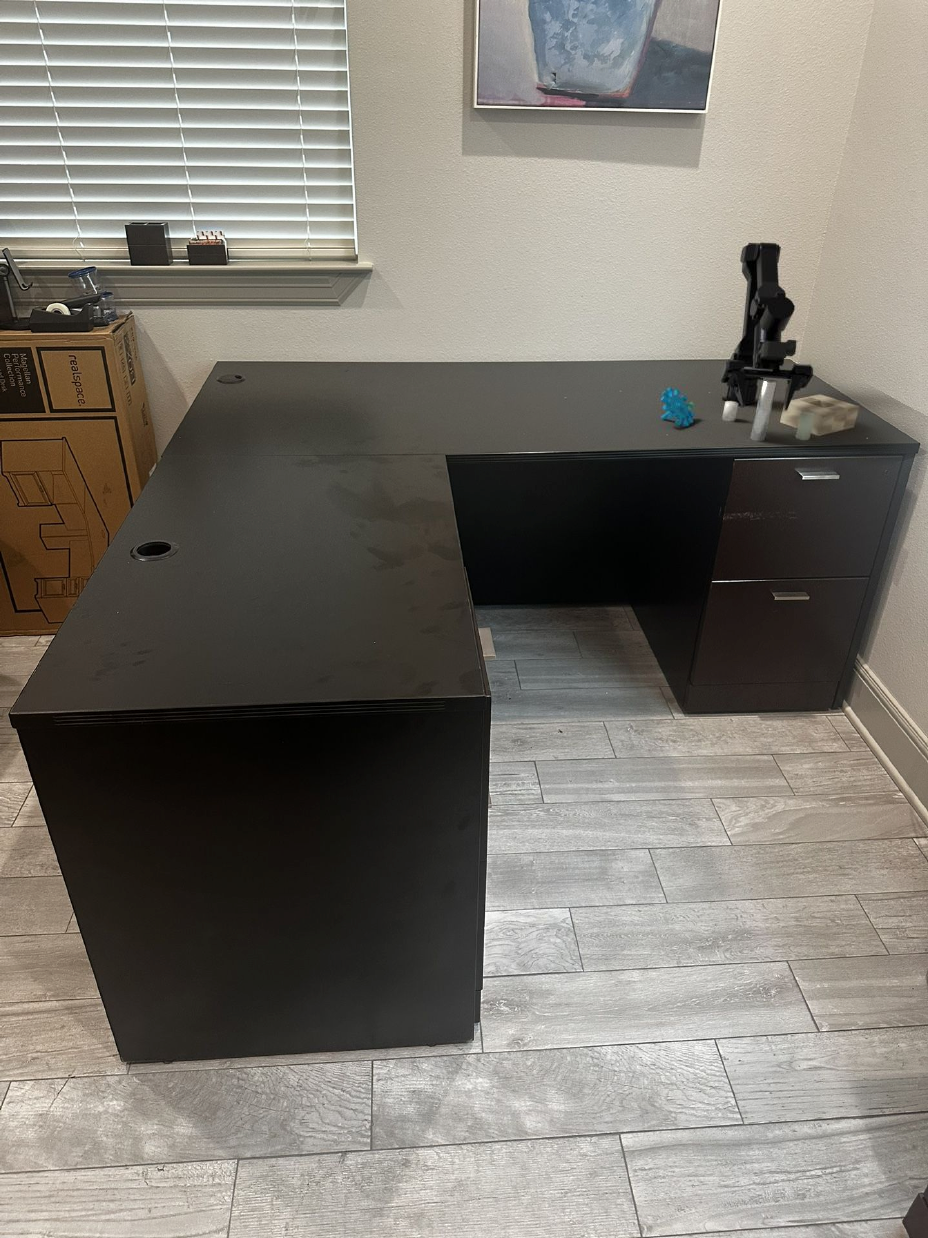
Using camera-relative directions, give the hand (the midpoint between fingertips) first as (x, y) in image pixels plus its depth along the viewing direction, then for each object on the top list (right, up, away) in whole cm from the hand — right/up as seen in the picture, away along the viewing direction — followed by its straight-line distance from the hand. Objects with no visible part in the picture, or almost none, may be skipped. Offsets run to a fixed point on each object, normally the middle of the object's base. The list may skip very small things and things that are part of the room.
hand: (764, 408), depth 184 cm
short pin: (-3, +1, +16) cm, 16 cm away
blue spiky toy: (-16, 0, +13) cm, 21 cm away
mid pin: (+11, -5, +6) cm, 13 cm away
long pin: (0, -6, +4) cm, 7 cm away
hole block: (+18, 0, +14) cm, 23 cm away
